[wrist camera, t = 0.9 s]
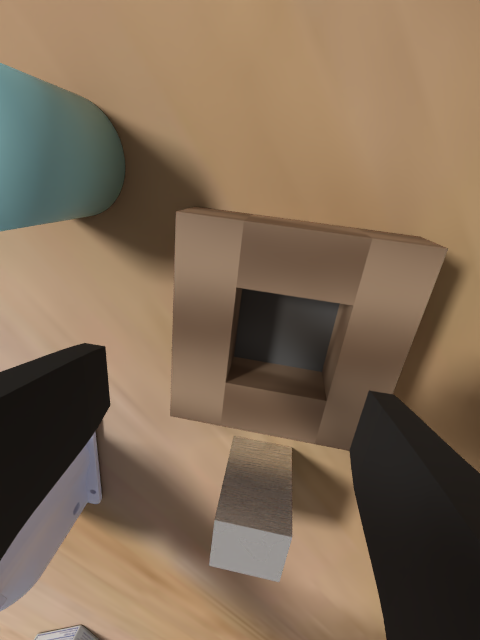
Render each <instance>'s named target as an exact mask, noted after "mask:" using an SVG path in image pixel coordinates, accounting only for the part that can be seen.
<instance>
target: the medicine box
mask: <svg viewBox="0 0 480 640" xmlns="http://www.w3.org/2000/svg"><path fill="white" fill-rule="evenodd" d="M34 640H99V639H98V638H97V637H95V636H94V635H93V634H92V633H91V632H90V631H89V630H88V629H86V628H85V627H84V626H82V625H79V626H74V627H69V628H64V629H59V630H54V631H50V632H45V633H39V634H37V635H36V637H35V639H34Z"/></svg>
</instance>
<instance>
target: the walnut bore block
mask: <svg viewBox="0 0 480 640" xmlns="http://www.w3.org/2000/svg"><path fill="white" fill-rule="evenodd" d="M447 251H448V248H446V247H443V246H441V245H438V244H436V243H434V242H431V241H429V240H426V239H424V238H422V237H418V236H410V235H403V234H396V233H388V232H381V231H373V230H366V229H358V228H351V227H343V226H336V225H328V224H321V223H314V222H306V221H299V220H291V219H284V218H276V217H269V216H261V215H254V214H247V213H239V212H232V211H224V210H217V209H209V208H202V207H192V208H188V209H184V210H180V211H176V227H175V263H174V298H173V334H172V369H171V405H170V416H173V417H178V418H183V419H188V420H193V421H198V422H203V423H209V424H214V425H219V426H224V427H229V428H234V429H240V430H245V431H250V432H255V433H260V434H265V435H270V436H276V437H281V438H286V439H291V440H296V441H301V442H306V443H312V444H317V445H322V446H327V447H332V448H337V449H342V450H348V451H350V447H351V444H352V440H353V437H354V434H355V431H356V428H357V425H358V422H359V419H360V416H361V413H362V410H363V407H364V404H365V401H366V398H367V394H368V391H369V390H370V391H376V392H382V393H388V394H393V392H394V389H395V387H396V384H397V381H398V379H399V376H400V373H401V371H402V368H403V366H404V363H405V360H406V358H407V355H408V353H409V350H410V347H411V345H412V342H413V340H414V337H415V334H416V332H417V329H418V326H419V324H420V321H421V319H422V316H423V313H424V311H425V308H426V306H427V303H428V300H429V298H430V295H431V293H432V290H433V287H434V285H435V282H436V279H437V277H438V274H439V272H440V269H441V266H442V264H443V261H444V259H445V256H446V253H447Z"/></svg>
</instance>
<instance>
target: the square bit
mask: <svg viewBox="0 0 480 640" xmlns="http://www.w3.org/2000/svg"><path fill="white" fill-rule="evenodd" d="M291 540H292V447H289V446H283V445H278V444H273V443H268V442H263V441H258V440H253V439H248V438H243V437H238V436H233V441H232V445H231V449H230V454H229V458H228V463H227V467H226V472H225V476H224V481H223V485H222V489H221V494H220V498H219V503H218V507H217V512H216V516H215V521H214V529H213V537H212V545H211V553H210V561H209V566H212V567H217V568H221V569H225V570H229V571H234V572H238V573H242V574H246V575H251V576H255V577H259V578H263V579H268V580H272V581H276V582H279V581H280V578H281V574H282V571H283V567H284V564H285V560H286V557H287V554H288V550H289V547H290V543H291Z"/></svg>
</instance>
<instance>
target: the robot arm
mask: <svg viewBox="0 0 480 640" xmlns="http://www.w3.org/2000/svg"><path fill="white" fill-rule="evenodd" d="M109 407H110V396H109V385H108V373H107V361H106V349H105V346H99V345H93V344H87V343H83V344H80V345H76V346H72V347H69V348H66V349H63V350H60V351H57V352H55V353H52V354H49V355H46V356H43V357H41V358H38V359H35V360H32V361H30V362H27V363H24V364H21V365H19V366H16V367H13V368H10V369H8V370H5V371H2V372H0V611H2V610H4V609H6V608H7V607H9V606H10V605H12V604H13V603H15V602H16V601H17V600H18V599H20V598H21V597H22V596H23V595H25V594H26V593H27V592H28V591H29V590H30V589H31V588H32V587H33V585H34V584H35V583H36V582H37V581H38V579H39V578H40V577H41V575H42V574H43V572H44V570H45V569H46V567H47V566H48V564H49V563H50V561H51V559H52V558H53V556H54V555H55V553H56V552H57V550H58V548H59V547H60V545H61V544H62V542H63V540H64V539H65V537H66V536H67V534H68V533H69V531H70V529H71V528H72V526H73V525H74V523H75V522H76V520H77V518H78V517H79V515H80V514H81V512H82V511H83V509H84V507H85V506H86V504H87V503H92V504H99V503H100V501H101V500H102V492H101V482H100V472H99V462H98V452H97V441H96V429H97V428H98V426H99V424H100V423H101V421H102V419H103V417H104V415H105V414H106V412H107V410H108V408H109ZM350 458H351V469H352V477H353V485H354V491H355V496H356V500H357V504H358V509H359V513H360V517H361V522H362V526H363V530H364V534H365V538H366V543H367V547H368V551H369V555H370V559H371V564H372V568H373V572H374V576H375V580H376V584H377V589H378V593H379V598H380V603H381V608H382V613H383V618H384V625H385V631H386V638H387V640H480V473H479V472H477V471H476V470H475V469H474V468H473V467H472V466H471V465H470V464H468V463H467V462H466V461H465V460H464V459H463V458H462V457H461V456H460V455H459V454H457V453H456V452H455V451H454V450H453V449H452V448H451V447H450V446H449V445H448V444H447V443H446V442H444V441H443V440H442V439H441V438H440V437H439V436H438V435H437V434H436V433H435V432H434V431H433V430H432V429H431V428H430V427H429V426H427V425H426V424H425V423H424V422H423V421H422V420H421V419H420V418H419V417H418V416H417V415H416V414H415V413H414V412H413V411H412V410H410V409H409V408H408V407H407V406H406V405H405V404H404V403H403V402H402V401H401V400H399V399H398V398H397V397H396V396H395V395H393V394H388V393H382V392H376V391H370V390H369V391H368V394H367V398H366V401H365V404H364V407H363V410H362V413H361V416H360V419H359V422H358V425H357V428H356V431H355V434H354V437H353V440H352V444H351V447H350Z"/></svg>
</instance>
